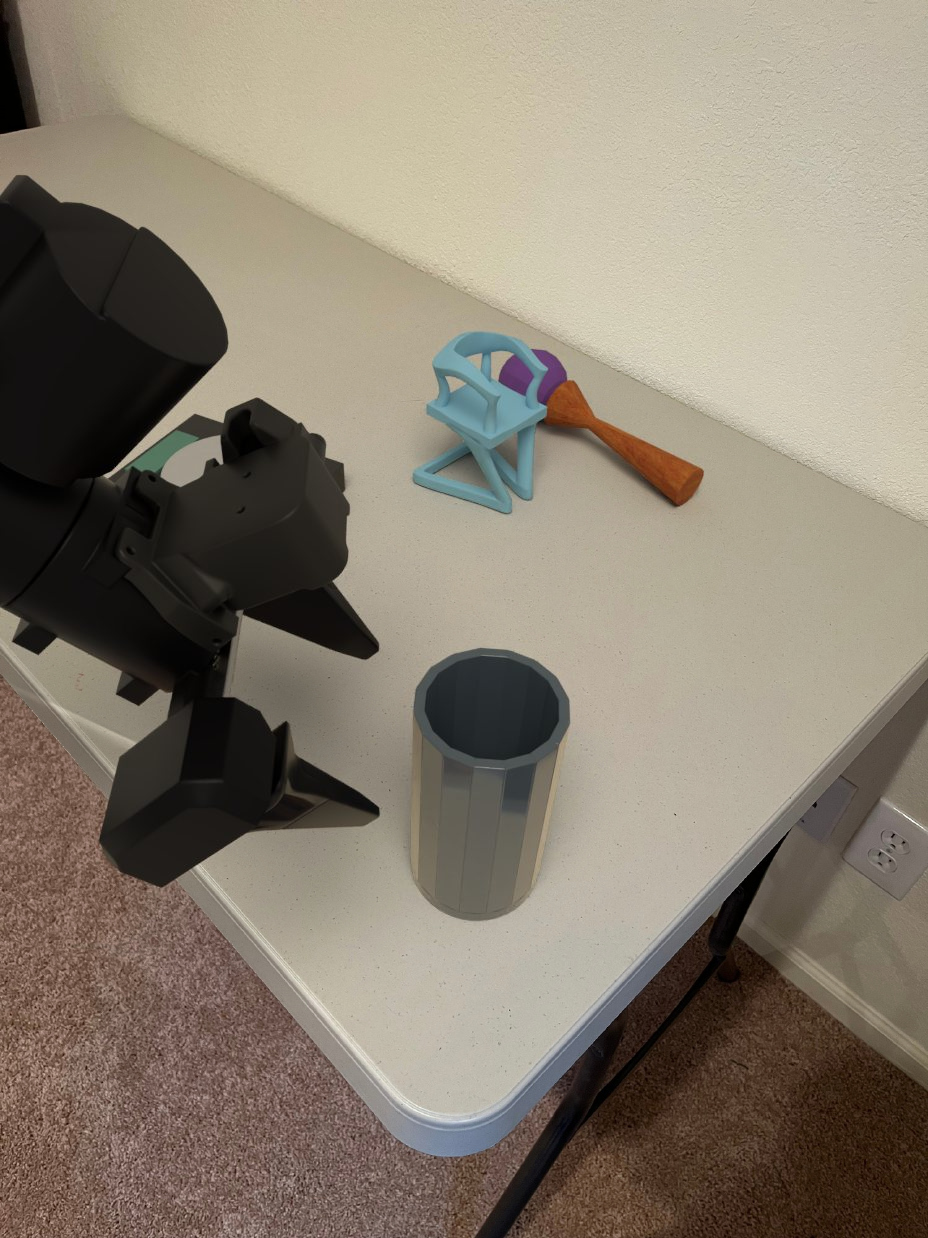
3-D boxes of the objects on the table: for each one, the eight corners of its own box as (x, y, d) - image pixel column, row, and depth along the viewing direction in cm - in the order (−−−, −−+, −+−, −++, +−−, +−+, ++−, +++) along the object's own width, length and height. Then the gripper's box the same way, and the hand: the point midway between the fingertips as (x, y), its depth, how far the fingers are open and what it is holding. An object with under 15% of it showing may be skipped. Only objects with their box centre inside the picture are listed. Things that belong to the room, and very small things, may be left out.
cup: (388, 886, 47) (385, 730, 38) (446, 790, 52) (456, 629, 43) (507, 943, 46) (534, 793, 36) (557, 838, 50) (592, 680, 41)
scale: (98, 518, 68) (87, 481, 65) (199, 439, 75) (193, 404, 73) (256, 579, 64) (251, 543, 61) (345, 489, 72) (343, 454, 69)
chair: (488, 528, 69) (500, 387, 61) (410, 480, 73) (412, 341, 64) (551, 486, 73) (572, 349, 65) (475, 443, 77) (485, 308, 69)
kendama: (671, 480, 68) (483, 357, 76) (660, 532, 73) (484, 411, 81) (721, 439, 70) (533, 324, 79) (706, 493, 75) (531, 378, 83)
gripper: (128, 600, 22) (541, 838, 30) (223, 263, 35) (491, 496, 43) (-94, 801, 26) (316, 957, 35) (63, 439, 40) (333, 616, 48)
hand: (373, 728), depth 40 cm, fingers open, 9 cm apart
